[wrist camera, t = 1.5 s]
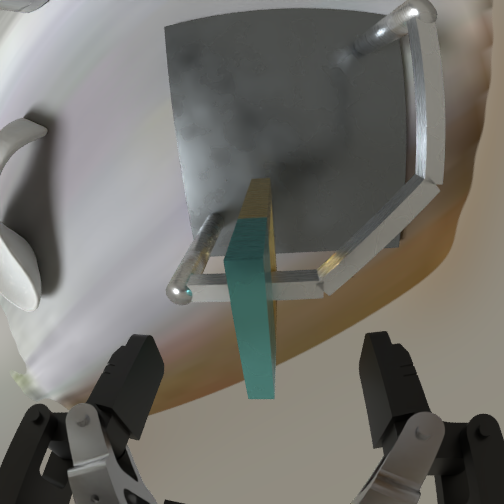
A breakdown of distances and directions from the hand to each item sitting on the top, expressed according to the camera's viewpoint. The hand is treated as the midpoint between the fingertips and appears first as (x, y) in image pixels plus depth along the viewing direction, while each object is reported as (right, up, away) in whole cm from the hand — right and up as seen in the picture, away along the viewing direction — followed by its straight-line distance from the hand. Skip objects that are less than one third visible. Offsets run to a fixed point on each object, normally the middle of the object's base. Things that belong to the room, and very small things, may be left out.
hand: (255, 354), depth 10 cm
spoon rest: (-27, +8, +15) cm, 32 cm away
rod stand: (+3, +12, +10) cm, 16 cm away
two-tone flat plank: (+1, +5, +10) cm, 11 cm away
